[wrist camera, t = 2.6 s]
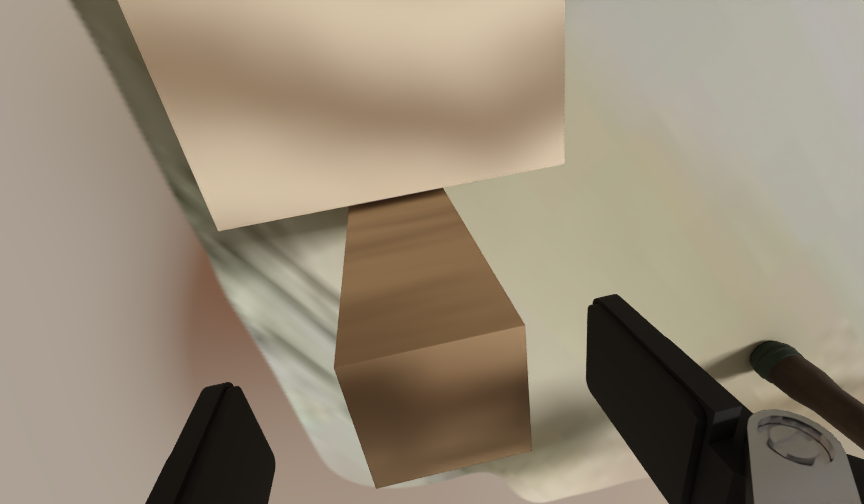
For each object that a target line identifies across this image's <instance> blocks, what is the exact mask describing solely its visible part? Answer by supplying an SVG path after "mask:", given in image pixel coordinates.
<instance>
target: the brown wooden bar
mask: <svg viewBox="0 0 864 504" xmlns="http://www.w3.org/2000/svg"><path fill="white" fill-rule="evenodd" d="M334 370H335V372H336V375H337V378H338V381H339V384H340V387H341V390H342V392H343V395H344V398H345V401H346V404H347V407H348V410H349V412H350V415H351V418H352V421H353V424H354V427H355V430H356V432H357V435H358V438H359V441H360V444H361V447H362V450H363V452H364V455H365V458H366V461H367V464H368V467H369V470H370V472H371V475H372V478H373V481H374V484H375V487H376V489H377V488H381V487H385V486H389V485H393V484H397V483H401V482H406V481H410V480H414V479H418V478H422V477H426V476H430V475H434V474H438V473H442V472H446V471H450V470H454V469H459V468H463V467H467V466H471V465H475V464H479V463H483V462H487V461H491V460H495V459H499V458H503V457H508V456H512V455H516V454H520V453H524V452H528V451H532V444H531V425H530V407H529V388H528V370H527V351H526V332H525V324H524V323H523V321H522V319H521V318H520V316H519V314H518V313H517V311H516V309H515V308H514V306H513V304H512V303H511V301H510V299H509V298H508V296H507V294H506V293H505V291H504V289H503V288H502V286H501V284H500V283H499V281H498V279H497V278H496V276H495V274H494V273H493V271H492V269H491V268H490V266H489V264H488V263H487V261H486V259H485V258H484V256H483V254H482V253H481V251H480V249H479V248H478V246H477V244H476V243H475V241H474V239H473V238H472V236H471V234H470V232H469V231H468V229H467V227H466V226H465V224H464V222H463V221H462V219H461V217H460V216H459V214H458V212H457V211H456V209H455V207H454V206H453V204H452V202H451V201H450V199H449V197H448V196H447V194H446V192H445V191H444V189H443V188H438V189H433V190H428V191H423V192H417V193H412V194H407V195H402V196H397V197H392V198H387V199H382V200H376V201H371V202H366V203H361V204H356V205H351V206H349V214H348V224H347V235H346V245H345V256H344V266H343V277H342V288H341V298H340V309H339V319H338V330H337V340H336V351H335V361H334Z"/></svg>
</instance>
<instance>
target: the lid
mask: <svg viewBox="0 0 864 504" xmlns="http://www.w3.org/2000/svg"><path fill="white" fill-rule="evenodd" d="M118 3H119V5H120V7H121V9H122V12H123V14H124V16H125V19H126V21H127V23H128V26H129V28H130V30H131V32H132V35H133V37H134V39H135V42H136V44H137V46H138V48H139V51H140V53H141V55H142V58H143V60H144V62H145V65H146V67H147V69H148V71H149V74H150V76H151V78H152V81H153V83H154V85H155V87H156V90H157V92H158V94H159V97H160V99H161V101H162V104H163V106H164V108H165V110H166V113H167V115H168V117H169V120H170V122H171V124H172V126H173V129H174V131H175V133H176V136H177V138H178V140H179V143H180V145H181V147H182V149H183V152H184V154H185V156H186V159H187V161H188V163H189V165H190V168H191V170H192V172H193V175H194V177H195V179H196V181H197V184H198V186H199V188H200V191H201V193H202V195H203V198H204V200H205V202H206V204H207V207H208V209H209V211H210V214H211V216H212V218H213V220H214V223H215V225H216V227H217V230H218V231H223V230H228V229H233V228H238V227H243V226H248V225H254V224H259V223H264V222H269V221H274V220H279V219H284V218H289V217H294V216H300V215H305V214H310V213H315V212H320V211H325V210H330V209H335V208H341V207H346V206H351V205H356V204H361V203H366V202H371V201H376V200H382V199H387V198H392V197H397V196H402V195H407V194H412V193H417V192H423V191H428V190H433V189H438V188H443V187H448V186H453V185H458V184H464V183H469V182H474V181H479V180H484V179H489V178H494V177H499V176H504V175H510V174H515V173H520V172H525V171H530V170H535V169H540V168H545V167H551V166H556V165H561V164H564V93H565V0H118Z"/></svg>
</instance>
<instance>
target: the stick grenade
mask: <svg viewBox="0 0 864 504" xmlns="http://www.w3.org/2000/svg"><path fill="white" fill-rule="evenodd" d="M750 361H751V365H752V366H753V368H754V370H755V372H757V373H758V374H759V375H760V376H761V377H762V378H763V379H766V380H767V381H769V382H770V383H773V384H774V385H775V386H777V387H778V388H779V389H780V390H782V391H783V392H784V393H786V394H787V395H788V396H789V397H791V398H792V399H794V400H795V401H797V402H799V403H801V404H802V405H804V406H806V407H808V408H810V409H811V410H813V411H815V412H816V413H817V414H818V415H820V416H821V417H822V418H823V419H825V420H826V421H827V422H829V423H830V424H831V425H832V426H834V427H835V428H836V429H837V430H839V431H840V432H841V433H842V434H844V435H845V436H846V437H848V438H849V439H850V440H851V441H853V442H854V443H855V444H856V445H858V446H859V447H860V448H861V449H863V450H864V404H862V403H861V402H859V401H858V400H857V399H855V398H854V397H852V396H851V395H849V394H848V393H847V392H845V391H844V390H842V389H841V388H840V387H839V386H838V385H837V384H836V383H835V382H834V381H833V380H832V379H831V378H830V377H829V376H828V375H827V374H826V373H825V372H823V371H822V370H821V369H819V368H818V367H816V366H815V365H813V364H812V363H811V362H809V361H808V360H806V359H805V358H804V357H803V356H802V355H801V354H800V353H799V352H797V350H796V349H795V348H793V347H791V346H790V345H788V344H784V343H780V342H777V341H772V342H767V343H764V344H762V345H761V346H759V347H758V348H757V349H756V350H755V351H754V352H753V354H752V356H751V360H750Z"/></svg>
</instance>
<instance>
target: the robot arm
mask: <svg viewBox="0 0 864 504" xmlns="http://www.w3.org/2000/svg"><path fill="white" fill-rule="evenodd" d="M586 382H587V385H588V388H589V390H590V392H591V394H592V395H593V396H594V398H595V399H596V401H597V402H598V404H599V405H600V406H601V408H602V409H603V411H604V412H605V413H606V415H607V416H608V418H609V419H610V421H611V422H612V423H613V425H614V426H615V428H616V429H617V431H618V432H619V433H620V435H621V436H622V438H623V439H624V440H625V442H626V443H627V445H628V446H629V448H630V449H631V450H632V452H633V453H634V455H635V456H636V458H637V459H638V460H639V462H640V463H641V465H642V466H643V468H644V469H645V470H646V472H647V473H648V475H649V476H650V477H651V479H652V480H653V482H654V483H655V485H656V486H657V487H658V489H659V490H660V492H661V493H662V495H663V496H664V497H665V499H666V500H667V502H668V503H669V504H864V459H861V458H858V457H855V456H852V455H848V454H846V452H845V450H844V448H843V447H842V445H841V443H840V442H839V441H838V440H837V439H836V438H835V437H834V436H833V434H831V432H829V431H828V430H826V429H825V428H824V427H822V426H821V425H819V424H818V423H816V422H814V421H812V420H810V419H808V418H806V417H804V416H801V415H798V414H795V413H792V412H789V411H783V410H776V409H771V410H762V411H759V412H756V413H754V414H753V413H752V412H751V411H750V410H748V409H747V408H746V407H745V406H744V405H743V404H742V403H741V402H739V401H738V400H737V399H736V398H735V397H734V396H733V395H732V394H730V393H729V392H728V391H727V390H726V389H725V388H724V387H723V386H721V385H720V384H719V383H718V382H717V381H716V380H715V379H714V378H712V377H711V376H710V375H709V374H708V373H707V372H706V371H705V370H703V369H702V368H701V367H700V366H699V365H698V364H697V363H696V362H694V361H693V360H692V359H691V358H690V357H689V356H688V355H686V354H685V353H684V352H683V351H682V350H681V349H680V348H679V347H677V346H676V345H675V344H674V343H673V342H672V341H671V340H669V339H668V338H667V337H665V336H664V335H663V334H662V333H660V332H659V331H658V330H657V329H656V328H655V327H654V326H653V325H651V324H650V323H649V322H648V321H647V320H646V319H645V318H644V317H642V316H641V315H640V314H639V313H638V312H637V311H636V310H635V309H633V308H632V307H631V306H630V305H629V304H628V303H627V302H626V301H625V300H623V299H622V298H621V297H620V296H619V295H617V294H613V295H608V296H604V297H600V298H596V299H594V301H593V305H590V306H589V307H588V316H587V358H586ZM274 472H275V458H274V454H273V452H272V450H271V448H270V446H269V444H268V442H267V440H266V438H265V436H264V434H263V432H262V430H261V428H260V426H259V424H258V422H257V420H256V418H255V416H254V414H253V412H252V410H251V408H250V406H249V403H248V402H247V399H246V398H245V395H244V394H243V391H242V390H241V388H240V387H239V386H235V387H234V386H233V384H232V383H230V382H226V383H222V384H218V385H213V386H209V387H205V388H204V389H203V390H202V392H201V393H200V396H199V398H198V400H197V402H196V404H195V406H194V408H193V410H192V412H191V414H190V416H189V418H188V420H187V422H186V424H185V426H184V428H183V430H182V432H181V434H180V436H179V438H178V441H177V443H176V445H175V447H174V449H173V451H172V453H171V454H170V456H169V458H168V459H167V461H166V463H165V465H164V467H163V469H162V471H161V473H160V475H159V477H158V479H157V481H156V483H155V485H154V487H153V490H152V491H151V493H150V495H149V498H148V499H147V501H146V503H145V504H268V501H269V496H270V491H271V487H272V482H273V477H274Z"/></svg>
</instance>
